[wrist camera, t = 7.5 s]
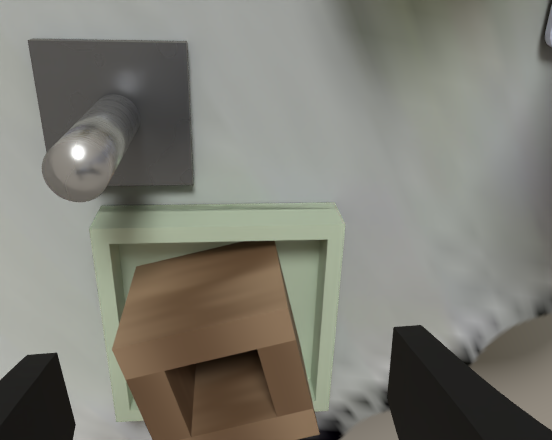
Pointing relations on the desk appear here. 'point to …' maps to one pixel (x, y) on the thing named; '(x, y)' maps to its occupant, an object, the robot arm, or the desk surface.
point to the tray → (215, 233)
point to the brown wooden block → (215, 347)
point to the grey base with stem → (113, 114)
